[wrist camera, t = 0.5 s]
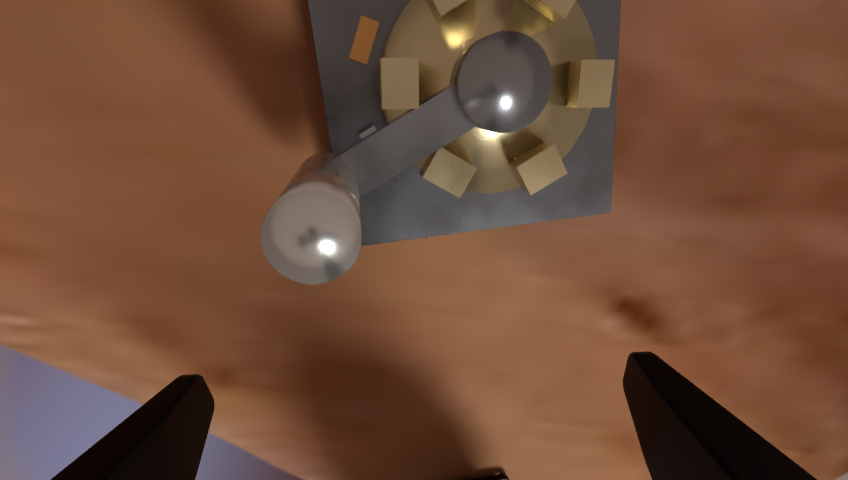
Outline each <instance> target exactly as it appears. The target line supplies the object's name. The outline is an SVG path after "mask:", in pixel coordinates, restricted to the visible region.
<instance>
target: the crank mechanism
mask: <svg viewBox="0 0 848 480" xmlns="http://www.w3.org/2000/svg"><path fill="white" fill-rule="evenodd" d="M614 65H615V60H597V53H596V48H595V43H594V38H593V35H592V32H591V29H590V26H589V23H588V21H587V19H586V17H585V15H584V12H583V11H582V9H581V8H580V6H579V4H578V3H577V1H576V0H410V1H409V3H408V4H407V5H406V7H405V8H404V10H403V11H402V13H401V15H400V16H399V18H398V20H397V21H396V23H395V25H394V26H393V28H392V30H391V32H390V34H389V37H388V39H387V41H386V44H385V47H384V50H383V54H382V57H381V58H380V59H379V92H380V106H381V109H382V110H383V114H384V117H385V120H386V122H387V124H385V125H384V126H382V127H380V128H379V129H377V130H376V131H374V132H372V133H371V134H369V135H367V136H366V137H364V138H363V139H361V140H359V141H358V142H356V143H355V144H353V145H351V146H350V147H348V148H346V149H345V150H343V151H342V152H340V153H338V154H334V153H326V152H325V153H318V154H315V155H313V156H311V157H309V158H308V159H307V160H306V161H305V162H304V163H303V164H302V165H301V167H300V168H299V169H298V171H297V172H296V174H295V175H294V176H293V178H292V179H291V180H290V182H289V183H288V185H287V186H286V187H285V189H284V190H283V192H282V193H281V194H280V196H279V197H278V198H277V200H276V201H275V203H274V204H273V205H272V207H271V208H270V210H269V211H268V212H267V214H266V216H265V218H264V220H263V223H262V227H261V235H260V236H261V245H262V249H263V252H264V254H265V256H266V258H267V260H268V262H269V263H270V264H271V266H272V267H273V268H274V269H275V270H276V271H277V272H279V273H280V274H281V275H283V276H284V277H286V278H288V279H290V280H293V281H295V282H299V283H303V284H322V283H326V282H329V281H332V280H335V279H336V278H338V277H340V276H341V275H343V274H344V273H346V272H347V271H348V270H349V269H350V268H351V266H352V265H353V264H354V262H355V261H356V259H357V257H358V255H359V252H360V248H361V239H362V236H361V220H360V205H359V198H360V197H362V196H364V195H365V194H367V193H369V192H370V191H372V190H373V189H375V188H377V187H378V186H380V185H382V184H383V183H385V182H386V181H388V180H390V179H391V178H393V177H395V176H396V175H398V174H400V173H401V172H403V171H404V170H406V169H408V168H409V167H411V166H413V165H414V164H416V165H417V166H418V167H419V168H420V169H421V171H420V172H419V174H420V175H421V177H422V178H424V179H426V180H428V181H429V182H431V183H433V184H435V185H437V186H439V187H440V188H442V189H444V190H446V191H448V192H450V193H451V194H453V195H455V196H457V197H459V198H460V197H461V196H462V194H463V192H464V191H466V192H472V193H498V192H505V191H509V190H513V189H516V188H519V187H521V189H522V191H523V192H525V193H527V194H529V195H530V196H531V195H533V194H534V193H536V192H537V191H539V190H541V189H542V188H544V187H546V186H547V185H549V184H551V183H552V182H554V181H556V180H557V179H559V178H561V177H562V176H564V175H566V174H567V171H566V168H565V166H564V164H563V162H562V159H563V158H564V157H565V156H566V155H567V153H568V152H569V151H570V150H571V148H572V147H573V146H574V144H575V143H576V141H577V140H578V138H579V136H580V135H581V133H582V131H583V129H584V127H585V125H586V123H587V120H588V118H589V115H590V113H591V109H592V108H603V107H609V106H610V98H611V90H612V81H613V73H614Z"/></svg>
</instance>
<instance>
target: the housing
mask: <svg viewBox="0 0 848 480" xmlns="http://www.w3.org/2000/svg"><path fill="white" fill-rule="evenodd" d="M409 1H410V0H308V5H309V11H310V17H311V24H312V30H313V37H314V43H315V50H316V56H317V63H318V69H319V76H320V82H321V89H322V95H323V102H324V108H325V114H326V121H327V127H328V134H329V140H330V147H331V153H334V154H338V153H340V152H342V151H343V150H345V149H346V148H348V147H350V146H351V145H353V144H355V143H356V142H358V141H359V140H361V139H363V138H364V137H366V136H367V135H369V134H371V133H372V132H374V131H376V130H377V129H379V128H380V127H382V126H384V125H385V124H387V122H386V120H385V117H384V114H383V110H382V109H381V106H380V92H379V59H380V58H381V57H382V54H383V50H384V47H385V44H386V41H387V39H388V37H389V34H390V32H391V30H392V28H393V26H394V25H395V23H396V21H397V20H398V18H399V16H400V15H401V13H402V11H403V10H404V8H405V7H406V5H407V4H408V3H409ZM576 1H577V3H578V4H579V6H580V8H581V9H582V11H583V12H584V15H585V17H586V19H587V21H588V23H589V26H590V29H591V32H592V35H593V38H594V43H595V48H596V53H597V60H615V65H614V73H613V81H612V90H611V98H610V106H609V107H603V108H592V109H591V113H590V115H589V118H588V120H587V123H586V125H585V127H584V129H583V131H582V133H581V135H580V136H579V138H578V140H577V141H576V143H575V144H574V146H573V147H572V148H571V150H570V151H569V152H568V153H567V155H566V156H565V157H564V158H563V159H562V162H563V164H564V166H565V168H566V171H567V174H566V175H564V176H562V177H561V178H559V179H557V180H556V181H554V182H552V183H551V184H549V185H547V186H546V187H544V188H542V189H541V190H539V191H537V192H536V193H534V194H533V195H531V196H530V195H529V194H527V193H525V192H523V191H522V189H521V187H519V188H516V189H513V190H509V191H505V192H498V193H472V192H466V191H464V192H463V194H462V196H461V197H460V198H459V197H457V196H455V195H453V194H451V193H450V192H448V191H446V190H444V189H442V188H440V187H439V186H437V185H435V184H433V183H431V182H429V181H428V180H426V179H424V178H422V177H421V175H420V174H419V172H420V171H421V169H420V168H419V167H418V166H417V165H416V164H414V165H413V166H411V167H409V168H408V169H406V170H404V171H403V172H401V173H400V174H398V175H396V176H395V177H393V178H391V179H390V180H388V181H386V182H385V183H383V184H382V185H380V186H378V187H377V188H375V189H373V190H372V191H370V192H369V193H367V194H365V195H364V196H362V197H360V198H359V205H360V220H361V236H362V239H361V246H364V245H371V244H378V243H386V242H393V241H401V240H408V239H416V238H423V237H431V236H438V235H446V234H453V233H461V232H468V231H476V230H483V229H491V228H498V227H506V226H513V225H521V224H528V223H536V222H543V221H551V220H558V219H566V218H573V217H581V216H588V215H596V214H603V213H611V200H612V178H613V157H614V136H615V114H616V93H617V72H618V51H619V29H620V8H621V0H576Z"/></svg>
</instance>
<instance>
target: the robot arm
mask: <svg viewBox="0 0 848 480" xmlns="http://www.w3.org/2000/svg"><path fill="white" fill-rule="evenodd" d="M623 388H624V392H625V396H626V399H627V402H628V406H629V409H630V412H631V416H632V419H633V422H634V426H635V429H636V432H637V436H638V439H639V442H640V446H641V449H642V452H643V455H644V458H645V461H646V464H647V467H648V469H649V472H650V475H651V477H652V479H653V480H817V479H816V478H814V477H813V476H812V475H810V474H809V473H808V472H807V471H805V470H804V469H803V468H801V467H800V466H799V465H798V464H796V463H795V462H794V461H792V460H791V459H790V458H788V457H787V456H786V455H785V454H783V453H782V452H781V451H779V450H778V449H777V448H776V447H774V446H773V445H772V444H770V443H769V442H768V441H766V440H765V439H764V438H763V437H761V436H760V435H759V434H757V433H756V432H755V431H754V430H752V429H751V428H750V427H748V426H747V425H746V424H745V423H743V422H742V421H741V420H739V419H738V418H737V417H735V416H734V415H733V414H732V413H730V412H729V411H728V410H726V409H725V408H724V407H723V406H721V405H720V404H719V403H717V402H716V401H715V400H713V399H712V398H711V397H710V396H708V395H707V394H706V393H704V392H703V391H702V390H701V389H699V388H698V387H697V386H695V385H694V384H693V383H691V382H690V381H689V380H688V379H686V378H685V377H684V376H682V375H681V374H680V373H679V372H677V371H676V370H675V369H673V368H672V367H671V366H669V365H668V364H667V363H666V362H664V361H663V360H662V359H660V358H659V357H658V356H657V355H655V354H654V353H652V352H632V353H630V355H629V356H628V360H627V364H626V369H625V373H624V378H623ZM213 412H214V399H213V396H212V394H211V392H210V390H209V388H208V386H207V384H206V382H205V380H204V378H203V377H202V376H201V375H198V374H192V375H182V376H179V377H178V378H176V379H175V380H174V381H172V382H171V383H170V384H169V385H167V386H166V387H165V388H164V389H162V390H161V391H160V392H159V393H157V394H156V395H155V396H154V397H153V398H151V399H150V400H149V401H148V402H146V403H145V404H144V405H143V406H142V407H140V408H139V409H138V410H136V411H135V412H134V413H133V414H131V415H130V416H129V417H128V418H127V419H125V420H124V421H123V422H122V423H120V424H119V425H118V426H117V427H115V428H114V429H113V430H112V431H110V432H109V433H108V434H107V435H105V436H104V437H103V438H102V439H100V440H99V441H98V442H97V443H96V444H94V445H93V446H92V447H91V448H89V449H88V450H87V451H86V452H84V453H83V454H82V455H81V456H79V457H78V458H77V459H76V460H74V461H73V462H72V463H71V464H70V465H68V466H67V467H66V468H64V469H63V470H62V471H61V472H60V473H58V474H57V475H56V476H55V477H53V478H52V479H51V480H195V477H196V474H197V471H198V467H199V464H200V460H201V456H202V453H203V448H204V445H205V441H206V438H207V434H208V430H209V427H210V423H211V419H212V415H213ZM475 480H509V478H508V476H507V475H504V474H500V475H495V476H490V477H485V478H480V479H475Z"/></svg>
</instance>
